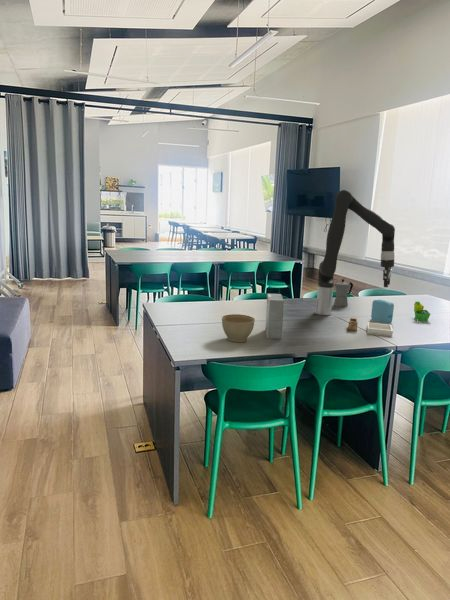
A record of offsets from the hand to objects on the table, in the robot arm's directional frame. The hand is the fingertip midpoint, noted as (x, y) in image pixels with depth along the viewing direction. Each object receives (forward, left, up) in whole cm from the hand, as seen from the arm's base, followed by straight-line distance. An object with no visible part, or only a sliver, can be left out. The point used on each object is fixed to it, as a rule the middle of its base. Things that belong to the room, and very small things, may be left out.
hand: (386, 285), depth 271 cm
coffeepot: (-25, +30, -21) cm, 44 cm away
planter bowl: (-71, -73, -21) cm, 104 cm away
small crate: (-17, -29, -21) cm, 40 cm away
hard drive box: (-56, -57, -21) cm, 83 cm away
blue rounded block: (-1, -4, -21) cm, 21 cm away
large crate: (-3, -30, -21) cm, 36 cm away
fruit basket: (+22, +10, -21) cm, 32 cm away
